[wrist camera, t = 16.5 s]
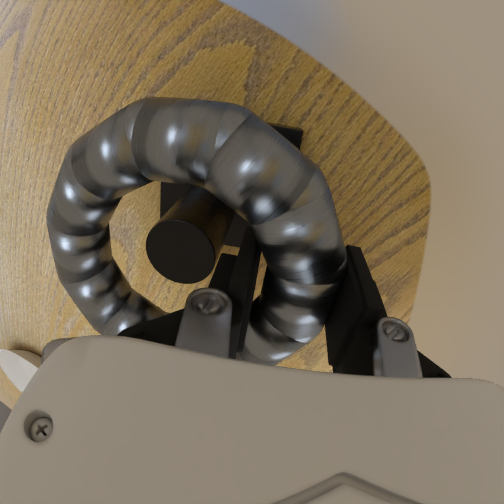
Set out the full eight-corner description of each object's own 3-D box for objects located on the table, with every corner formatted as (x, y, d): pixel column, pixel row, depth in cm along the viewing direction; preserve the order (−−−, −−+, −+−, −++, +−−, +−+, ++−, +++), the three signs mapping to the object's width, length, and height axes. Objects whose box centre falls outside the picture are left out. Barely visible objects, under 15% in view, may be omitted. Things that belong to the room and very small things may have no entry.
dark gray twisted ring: (70, 97, 9) (24, 105, 7) (373, 132, 9) (401, 145, 7) (92, 314, 16) (69, 347, 13) (295, 363, 15) (294, 405, 13)
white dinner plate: (126, 431, 48) (120, 445, 45) (42, 399, 50) (35, 410, 47) (72, 354, 35) (61, 372, 32) (-12, 323, 38) (-22, 335, 35)
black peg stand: (171, 111, 18) (80, 136, 9) (302, 128, 18) (317, 161, 9) (165, 226, 23) (101, 310, 14) (278, 246, 23) (270, 348, 14)
